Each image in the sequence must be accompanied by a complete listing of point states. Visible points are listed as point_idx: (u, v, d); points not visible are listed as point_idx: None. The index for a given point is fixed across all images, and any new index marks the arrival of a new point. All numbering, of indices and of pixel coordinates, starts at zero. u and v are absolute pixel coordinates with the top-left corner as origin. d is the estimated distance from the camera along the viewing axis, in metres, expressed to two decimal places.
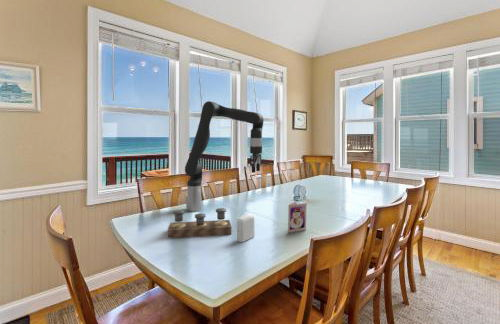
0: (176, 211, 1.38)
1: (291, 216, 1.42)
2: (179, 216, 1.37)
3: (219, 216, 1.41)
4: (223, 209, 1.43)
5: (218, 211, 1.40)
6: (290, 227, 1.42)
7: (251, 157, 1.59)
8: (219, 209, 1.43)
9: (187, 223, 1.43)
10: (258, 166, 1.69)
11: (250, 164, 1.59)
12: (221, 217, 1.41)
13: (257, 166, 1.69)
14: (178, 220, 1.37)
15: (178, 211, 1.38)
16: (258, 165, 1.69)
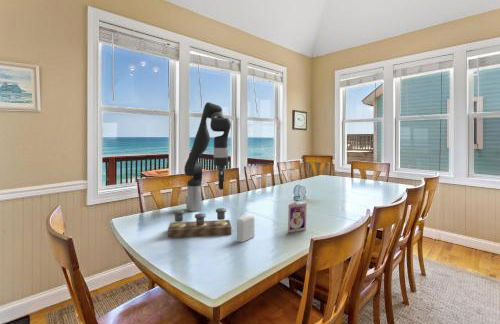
0: (176, 211, 1.38)
1: (291, 216, 1.42)
2: (179, 216, 1.37)
3: (219, 216, 1.41)
4: (223, 209, 1.43)
5: (218, 211, 1.40)
6: (290, 227, 1.42)
7: None
8: (219, 209, 1.43)
9: (187, 223, 1.43)
10: None
11: None
12: (221, 217, 1.41)
13: None
14: (178, 220, 1.37)
15: (178, 211, 1.38)
16: None
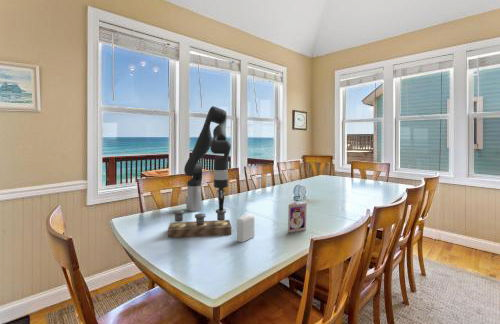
0: (176, 211, 1.38)
1: (291, 216, 1.42)
2: (179, 216, 1.37)
3: (219, 217, 1.41)
4: (223, 210, 1.43)
5: (218, 212, 1.40)
6: (290, 227, 1.42)
7: None
8: None
9: (187, 223, 1.43)
10: None
11: None
12: (221, 218, 1.41)
13: None
14: (178, 220, 1.37)
15: (178, 211, 1.38)
16: None
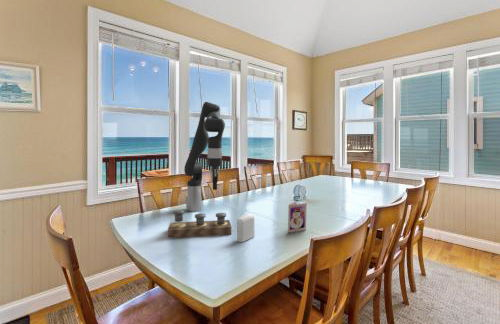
0: (176, 211, 1.38)
1: (291, 216, 1.42)
2: (179, 216, 1.37)
3: (219, 221, 1.41)
4: (223, 214, 1.43)
5: (218, 216, 1.40)
6: (290, 227, 1.42)
7: None
8: (219, 214, 1.43)
9: (187, 223, 1.43)
10: None
11: None
12: (221, 222, 1.41)
13: None
14: (178, 220, 1.37)
15: (178, 211, 1.38)
16: None
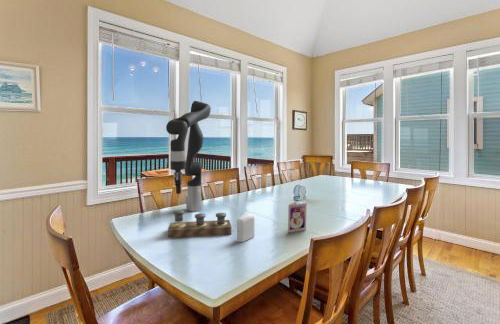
0: (176, 211, 1.38)
1: (291, 216, 1.42)
2: (179, 216, 1.37)
3: (219, 221, 1.41)
4: (223, 214, 1.43)
5: (218, 216, 1.40)
6: (290, 227, 1.42)
7: None
8: (219, 214, 1.43)
9: (187, 223, 1.43)
10: None
11: None
12: (221, 222, 1.41)
13: None
14: (178, 220, 1.37)
15: (178, 211, 1.38)
16: None
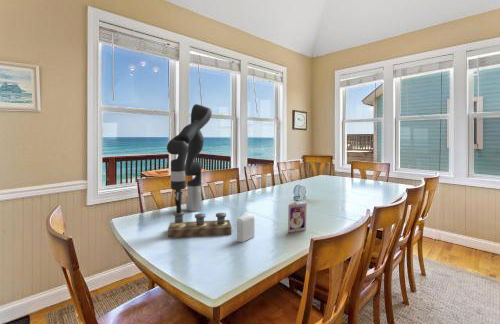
0: (176, 212, 1.38)
1: (291, 216, 1.42)
2: (179, 217, 1.37)
3: (219, 221, 1.41)
4: (223, 214, 1.43)
5: (218, 216, 1.40)
6: (290, 227, 1.42)
7: None
8: (219, 214, 1.43)
9: (187, 223, 1.43)
10: None
11: (180, 202, 1.41)
12: (221, 222, 1.41)
13: None
14: (178, 221, 1.37)
15: (178, 213, 1.38)
16: None
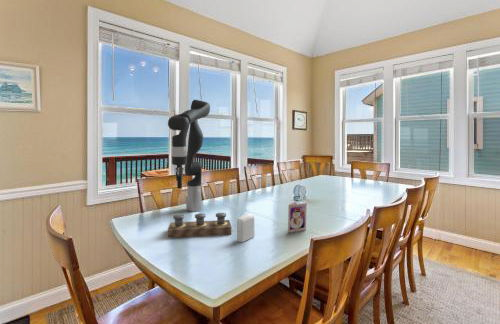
0: (176, 216, 1.38)
1: (291, 216, 1.42)
2: (179, 221, 1.37)
3: (219, 221, 1.41)
4: (223, 214, 1.43)
5: (218, 216, 1.40)
6: (290, 227, 1.42)
7: None
8: (219, 214, 1.43)
9: (187, 223, 1.43)
10: None
11: (181, 178, 1.43)
12: (221, 222, 1.41)
13: None
14: (178, 225, 1.37)
15: (178, 216, 1.38)
16: None
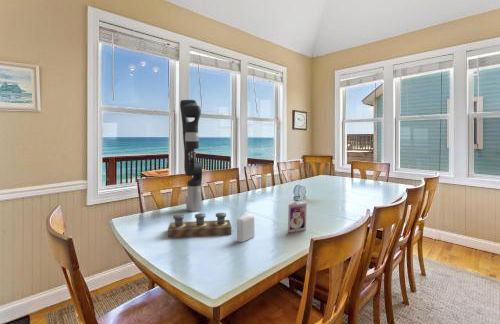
0: (176, 216, 1.38)
1: (291, 216, 1.42)
2: (179, 221, 1.37)
3: (219, 221, 1.41)
4: (223, 214, 1.43)
5: (218, 216, 1.40)
6: (290, 227, 1.42)
7: None
8: (219, 214, 1.43)
9: (187, 223, 1.43)
10: None
11: (194, 161, 1.57)
12: (221, 222, 1.41)
13: None
14: (178, 225, 1.37)
15: (178, 216, 1.38)
16: None
